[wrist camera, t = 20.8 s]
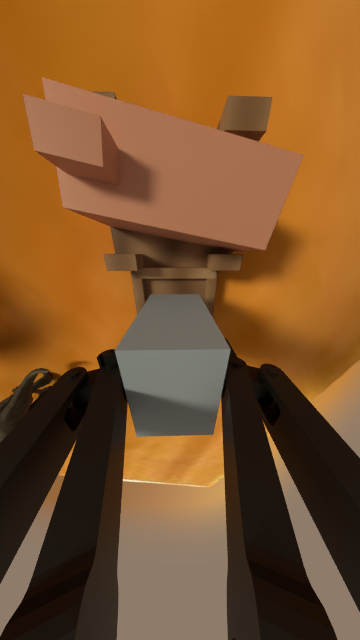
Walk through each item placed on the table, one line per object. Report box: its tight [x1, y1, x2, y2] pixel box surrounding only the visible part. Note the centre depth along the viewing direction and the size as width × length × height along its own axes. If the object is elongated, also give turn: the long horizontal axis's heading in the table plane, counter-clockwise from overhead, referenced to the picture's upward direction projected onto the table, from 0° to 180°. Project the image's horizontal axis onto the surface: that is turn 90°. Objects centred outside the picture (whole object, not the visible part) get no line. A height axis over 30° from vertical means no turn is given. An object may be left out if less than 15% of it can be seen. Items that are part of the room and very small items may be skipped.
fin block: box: [115, 294, 231, 437], centre depth 11 cm, size 5×7×9 cm
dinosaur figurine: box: [0, 368, 53, 442], centre depth 22 cm, size 22×8×11 cm, turn 120°
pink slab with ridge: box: [23, 77, 304, 251], centre depth 11 cm, size 14×5×9 cm, turn 80°
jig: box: [93, 92, 272, 316], centre depth 16 cm, size 14×22×4 cm, turn 0°
